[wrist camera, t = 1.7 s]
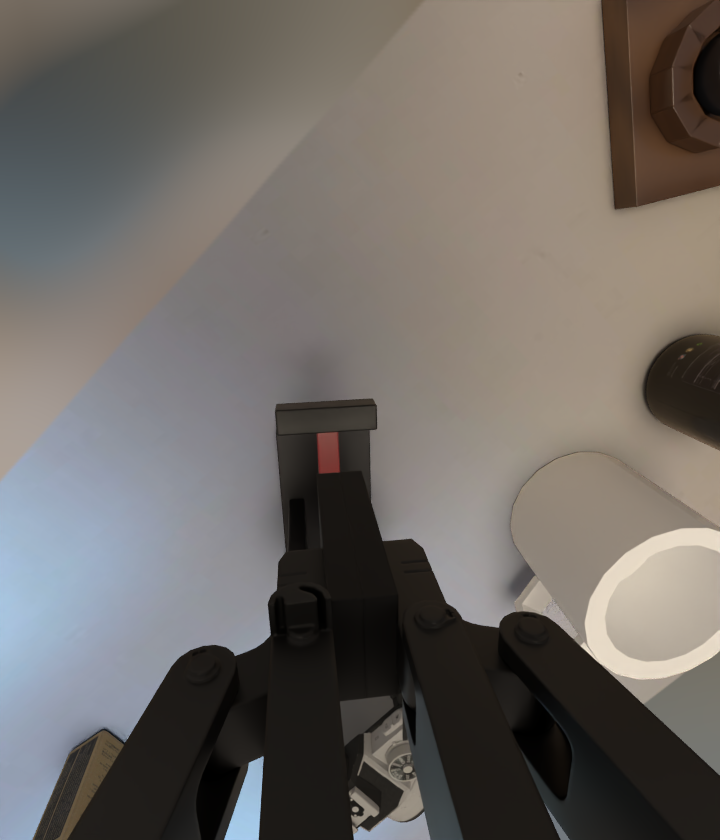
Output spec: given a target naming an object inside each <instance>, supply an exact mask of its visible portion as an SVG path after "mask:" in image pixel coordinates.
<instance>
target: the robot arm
mask: <svg viewBox="0 0 720 840" xmlns="http://www.w3.org/2000/svg"><path fill="white" fill-rule="evenodd" d="M317 492H318V509H319V526H320V543H321V548H316V549H304V550H293V551H286V553H285V554H284V555H283V557H282V558H281V560H280V561H279V562H278V580H277V591H276V592H275V593H274V594H273V595H271V597H270V600H269V602H268V610H269V620H270V630H271V635H270V637H269V638H268V639H267V640H266V641H265V642H264V643H262V644H261V645H260V646H258V647H257V648H255V649H252V650H250V651H248V652H245V653H243V654H240V655H237V656H235V655H234V653H233V652H231V651H230V650H229V649H227V648H226V647H222V646H218V645H210V646H202V647H199V648H196V649H193V650H190V651H189V652H187V653H186V654H184V655H183V656H181V657H179V659H178V660H177V661H176V662H175V663H174V664H173V666H172V667H171V668H170V670H169V672H168V673H167V675H166V677H165V678H164V680H163V682H162V683H161V685H160V687H159V688H158V690H157V691H156V693H155V695H154V696H153V698H152V700H151V701H150V703H149V705H148V706H147V708H146V710H145V711H144V713H143V715H142V716H141V718H140V720H139V721H138V723H137V725H136V726H135V728H134V730H133V731H132V733H131V734H130V736H129V738H128V739H127V741H126V743H125V744H124V746H123V748H122V749H121V751H120V753H119V754H118V756H117V758H116V759H115V761H114V763H113V764H112V766H111V768H110V769H109V771H108V773H107V774H106V776H105V777H104V779H103V781H102V782H101V784H100V786H99V787H98V789H97V791H96V792H95V794H94V796H93V797H92V799H91V801H90V802H89V804H88V806H87V807H86V809H85V811H84V812H83V814H82V816H81V817H80V819H79V821H78V822H77V824H76V825H75V827H74V829H73V830H72V832H71V834H70V835H69V837H68V839H67V840H224V838H225V835H226V832H227V829H228V826H229V824H230V821H231V818H232V815H233V812H234V809H235V806H236V803H237V800H238V797H239V794H240V791H241V788H242V785H243V782H244V779H245V776H246V774H247V771H248V764H249V762H251V761H253V760H256V759H258V758H260V757H262V756H264V762H263V779H262V796H261V812H260V829H259V840H354V837H353V827H352V818H351V808H350V798H349V788H348V778H347V768H346V758H345V748H344V738H343V728H342V718H341V708H340V701H348V700H357V699H365V698H374V697H382V696H390V695H399V683H400V687H401V692H402V696H403V741H406V740H408V741H409V745H410V750H411V754H412V759H413V763H414V768H415V772H416V776H417V781H418V785H419V790H420V794H421V799H422V803H423V807H424V812H425V816H426V821H427V825H428V830H429V834H430V839H431V840H560V838H559V835H558V833H557V831H556V829H555V827H554V824H553V822H552V820H551V818H550V815H549V813H548V811H547V808H548V809H549V810H550V812H551V813H552V815H553V816H554V817H555V819H556V820H557V822H558V823H559V824H560V826H561V827H562V829H563V830H564V832H565V833H566V835H567V836H568V838H569V839H570V840H720V775H718V774H717V773H716V772H715V771H714V770H713V769H712V768H711V767H710V766H709V765H708V764H707V763H706V762H705V761H703V760H702V759H701V758H700V757H699V756H698V755H697V754H696V753H695V752H694V751H693V750H692V749H691V748H690V747H688V746H687V745H686V744H685V743H684V742H683V741H682V740H681V739H680V738H679V737H678V736H677V735H676V734H674V733H673V732H672V731H671V730H670V729H669V728H668V727H667V726H666V725H665V724H664V723H663V722H662V721H660V720H659V719H658V718H657V717H656V716H655V715H654V714H653V713H652V712H651V711H650V710H648V708H647V707H645V706H644V705H643V704H642V703H641V702H640V701H639V700H638V699H637V698H636V697H635V696H634V695H633V694H632V693H631V692H629V691H628V690H627V689H626V688H625V687H624V686H623V685H622V684H621V683H620V682H619V681H618V680H617V679H615V678H614V677H613V676H612V675H611V674H610V673H609V672H608V671H607V670H606V669H605V668H604V667H603V666H602V665H600V664H599V663H598V662H597V661H596V660H595V659H594V658H593V657H592V656H591V655H590V654H589V653H588V652H587V651H585V650H584V649H583V648H582V647H581V646H580V645H579V644H578V643H577V642H576V641H575V640H574V639H573V638H571V637H570V636H569V635H568V634H567V633H566V632H565V631H564V630H563V629H562V628H561V627H560V626H559V625H558V624H556V623H555V622H553V621H552V620H551V619H549V618H548V617H546V616H543V615H540V614H538V613H534V612H527V611H520V612H513V613H510V614H509V615H507V616H505V617H504V618H503V619H502V621H501V622H500V624H499V628H496V627H489V626H482V625H477V624H472V623H469V622H467V621H464V620H462V617H461V616H460V614H459V613H458V612H457V610H456V609H455V608H453V607H452V606H450V605H448V604H447V603H446V601H445V599H444V597H443V594H442V592H441V590H440V587H439V585H438V582H437V580H436V578H435V575H434V573H433V571H432V568H431V566H430V564H429V562H428V559H427V557H426V554H425V552H424V549H423V548H422V547H421V546H420V545H418V544H417V543H416V542H415V541H414V540H412V539H404V540H393V541H382V538H381V535H380V531H379V528H378V524H377V521H376V518H375V514H374V511H373V508H372V504H371V501H370V497H369V494H368V491H367V487H366V484H365V481H364V477H363V474H362V471H349V472H335V473H321V474H317ZM544 803H545V804H544ZM545 805H546V806H547V808H546V806H545Z"/></svg>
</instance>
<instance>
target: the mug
mask: <svg viewBox="0 0 720 840" xmlns="http://www.w3.org/2000/svg"><path fill="white" fill-rule="evenodd" d="M510 527H511V532H512V537H513V542H514V544H515V546H516V547H517V549H518V550H519V552H520V553H521V555H522V556H523V558H524V559H525V561H526V562H527V563H528V565H529V566H530V568H531V569H532V570H533V572H534V573H535V576H534V577H533V578H532V580H531V581H530V582H529V584H528V585H527V586H526V588H525V589H524V590H523V592H522V593H521V594H520V596H519V597H518V599H517V600H516V601H515V602H514V604H515V608H516V612H520V611H527V612H534V613H538V614H540V615H542V612H543V611H544V609H545V608H546V607H547V606H548V604H549V603H550V602H551V600H552V599H554V601H555V602H556V604H557V605H558V606H559V608H560V609H561V611H562V612H563V613H564V615H565V616H566V617H567V619H568V620H569V622H570V623H571V624H572V626H573V627H574V629H575V630H576V631H577V633H578V635H577V636H576V637H575V638H574V640H575V641H576V642H577V643H578V644H579V645H580V646H581V647H582V648H583V649H584V650H585V651H587V652H588V653H589V654H590V655H591V656H592V657H593V658H594V659H595V660H596V661H597V662H598V663H601V664H602V665H604V666H605V667H607V668H608V669H610V670H611V671H612V672H614V673H615V674H618V675H622V676H626V677H630V678H634V679H639V680H640V679H658V678H666V677H669V676H672V675H676V674H679V673H682V672H685V671H689V670H691V669H692V668H694V667H696V666H697V665H699V664H701V663H703V662H704V661H706V660H708V659H710V658H712V657H713V656H714V655H716V654H717V653H718V652H719V651H720V528H719V527H718V526H716V525H715V524H713V523H712V522H710V521H709V520H707V519H706V518H704V517H703V516H702V515H700V514H699V513H697V512H696V511H694V510H693V509H691V508H690V507H688V506H687V505H685V504H684V503H682V502H681V501H679V500H678V499H676V498H675V497H673V496H672V495H670V494H669V493H667V492H666V491H664V490H663V489H661V488H660V487H658V486H657V485H655V484H654V483H652V482H651V481H649V480H648V479H646V478H645V477H643V476H642V475H640V474H639V473H637V472H636V471H634V470H633V469H631V468H630V467H629V466H627V465H626V464H624V463H623V462H621V461H620V460H618V459H616V458H614V457H611V456H608V455H605V454H602V453H599V452H577V453H574V454H570V455H567V456H564V457H560V458H557V459H555V460H554V461H552V462H550V463H549V464H547V465H546V466H544V467H543V468H541V469H539V470H538V471H537V472H536V473H535V474H534V475H533V476H532V477H531V478H530V479H529V480H528V482H527V483H526V484H525V485H524V486H523V487H522V489H521V491H520V493H519V495H518V497H517V499H516V501H515V503H514V505H513V510H512V516H511V522H510Z"/></svg>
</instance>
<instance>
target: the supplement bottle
mask: <svg viewBox="0 0 720 840" xmlns="http://www.w3.org/2000/svg"><path fill="white" fill-rule="evenodd" d="M646 397H647V402H648V405H649V408H650V410H651V412H652V413H653V415H654V416H655V417H656V418H657V419H658V420H659V421H660V422H662V423H663V424H665V425H667V426H668V427H670V428H673V429H675V430H676V431H679V432H681V433H683V434H685V435H687V436H689V437H692V438H694V439H696V440H698V441H700V442H702V443H704V444H707V445H709V446H711V447H713V448H715V449H717V450H720V336H715V335H706V334H700V335H693V336H689V337H686V338H683V339H681V340H679V341H677V342H675V343H674V344H672V345H671V346H670V347H668V348H667V349H666V350H665V351H664V352H663V353H662V354H661V355H660V356H659V357H658V359H657V360H656V361H655V363H654V365H653V366H652V368H651V371H650V373H649V376H648V379H647V385H646Z"/></svg>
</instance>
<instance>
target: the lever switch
mask: <svg viewBox="0 0 720 840" xmlns="http://www.w3.org/2000/svg"><path fill="white" fill-rule="evenodd" d="M338 435H339V458H340V472H349V471H362V474H363V477H364V481H365V484H366V487H367V491H368V494H369V497H370V501H371V484H370V437H369V430H361V431H345V432H338ZM276 438H277V450H278V462H279V474H280V486H281V498H282V510H283V522H284V534H285V546H286V551H293V550H304V549H316V548H321V543H320V526H319V509H318V492H317V474H319V473H318V456H317V438H316V433H314V434H298V435H283V436H278V435H277V429H276Z"/></svg>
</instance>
